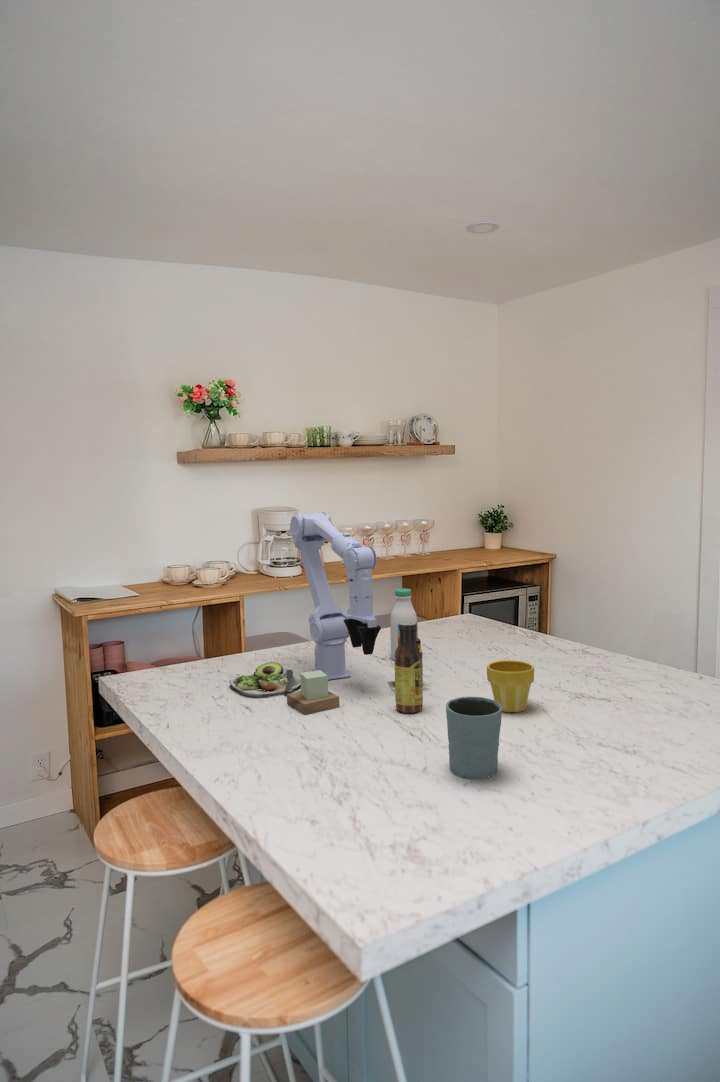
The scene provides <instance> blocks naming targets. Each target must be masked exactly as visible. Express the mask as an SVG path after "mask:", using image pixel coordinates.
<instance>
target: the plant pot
mask: <svg viewBox="0 0 720 1082" xmlns="http://www.w3.org/2000/svg"><path fill="white" fill-rule="evenodd" d="M486 679H487V682H488V683H490V687H491V692H492V696H493V699H494V701H496V702H498V703H499V704H500V705H501V706H502V713H510V712H515V713H522V712H524V711H525V710H526V709H527V706H528V705H527V703H528V700H529V694H530V691H531V690H530V689H531V686H532V685H531V684H532V683H534V681H535V666H534V665H533V664H531V663H530V662H527V661H523V660H522V661H521V660H515V659H514V660H513V659H512V660H509V659H504V660H495V661H491V662H490V663H488V664H487V665H486ZM521 711H522V712H521Z"/></svg>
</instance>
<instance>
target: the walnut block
mask: <svg viewBox="0 0 720 1082" xmlns="http://www.w3.org/2000/svg"><path fill="white" fill-rule="evenodd" d="M286 704H288V706H289V707H290V706H291V707H290V708H292V709H294V710H295V709H296V711H297V712H299V713H301V714H302V715H304V716H308V715H312V714H317V713H321V712H325V711H329V710H333V709H338V708H340V696H339V695H337V694H335V693H333V692H331V691H329V690H328V697H324V698H318V699H312V700H307V699H306V698H305V697H304V696H303V695H302V694H301V690H300V691H295V692H289V693H286Z"/></svg>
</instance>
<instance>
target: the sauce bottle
mask: <svg viewBox="0 0 720 1082" xmlns="http://www.w3.org/2000/svg"><path fill="white" fill-rule="evenodd" d="M417 626H418V625H417ZM417 626H416V623H415V622H401V623H399V631H400V640H399V641H400V644H399V646H398V647H397V649H396V651H395V660H394V681H395V691H394V696H395V697H394V698H395V699H394V701H395V709H396V710H397V711H398V712H400V713H403V714H413V713H418V712H420V711H421V710H422V709H423V701H424V698H423V697H424V695H423V691H424V689H423V684H424V682H422V665H423V655H422V656H421V653H420V651H419V648H418V645H417V642H416V641H417V640H416V629H417Z"/></svg>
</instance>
